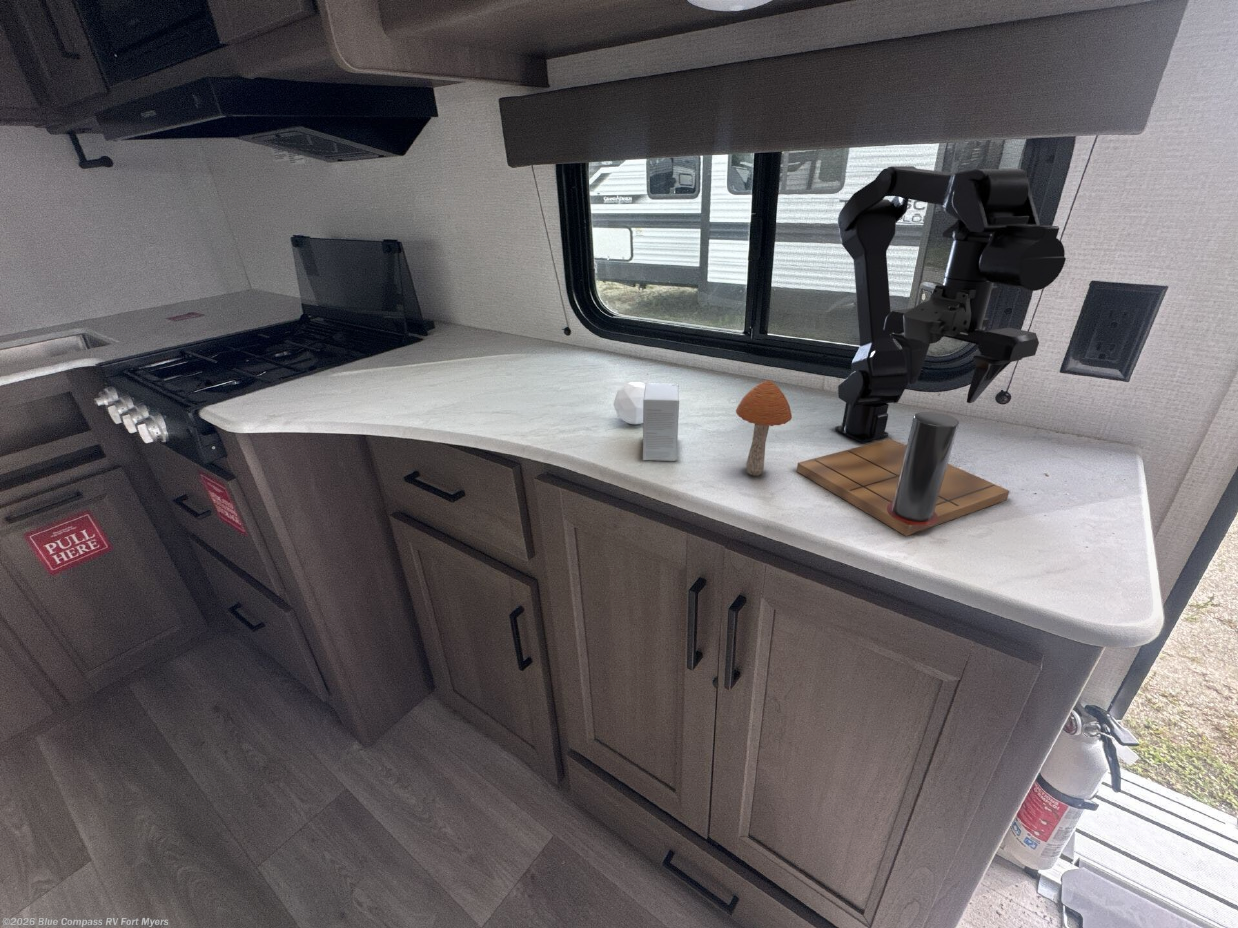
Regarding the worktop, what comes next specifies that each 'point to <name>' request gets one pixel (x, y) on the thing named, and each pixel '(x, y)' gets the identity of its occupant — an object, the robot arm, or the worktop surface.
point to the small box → (660, 421)
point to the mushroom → (762, 419)
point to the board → (874, 480)
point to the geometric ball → (630, 403)
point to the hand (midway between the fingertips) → (939, 392)
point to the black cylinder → (924, 465)
